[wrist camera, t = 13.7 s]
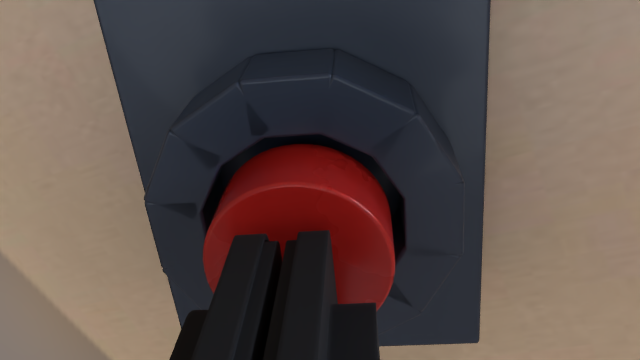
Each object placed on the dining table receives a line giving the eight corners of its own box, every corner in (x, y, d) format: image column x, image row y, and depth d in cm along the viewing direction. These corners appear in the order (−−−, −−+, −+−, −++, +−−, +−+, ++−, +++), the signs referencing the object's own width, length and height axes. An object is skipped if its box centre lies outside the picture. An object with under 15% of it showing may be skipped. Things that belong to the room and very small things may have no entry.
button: (394, 284, 13) (398, 339, 12) (236, 291, 13) (220, 345, 12) (386, 135, 11) (391, 177, 10) (206, 148, 12) (183, 189, 10)
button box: (463, 281, 18) (493, 397, 14) (208, 292, 19) (168, 405, 15) (469, -71, 13) (516, -48, 9) (132, -38, 14) (44, -3, 10)
